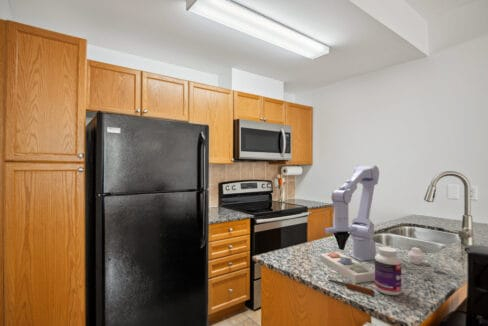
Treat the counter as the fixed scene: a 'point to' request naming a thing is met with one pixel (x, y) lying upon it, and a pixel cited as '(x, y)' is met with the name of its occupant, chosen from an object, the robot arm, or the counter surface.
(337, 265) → the button panel
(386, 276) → the pill bottle
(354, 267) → the green button
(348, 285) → the kitchen knife
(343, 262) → the blue button
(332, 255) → the terracotta button
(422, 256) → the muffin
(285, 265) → the counter surface
